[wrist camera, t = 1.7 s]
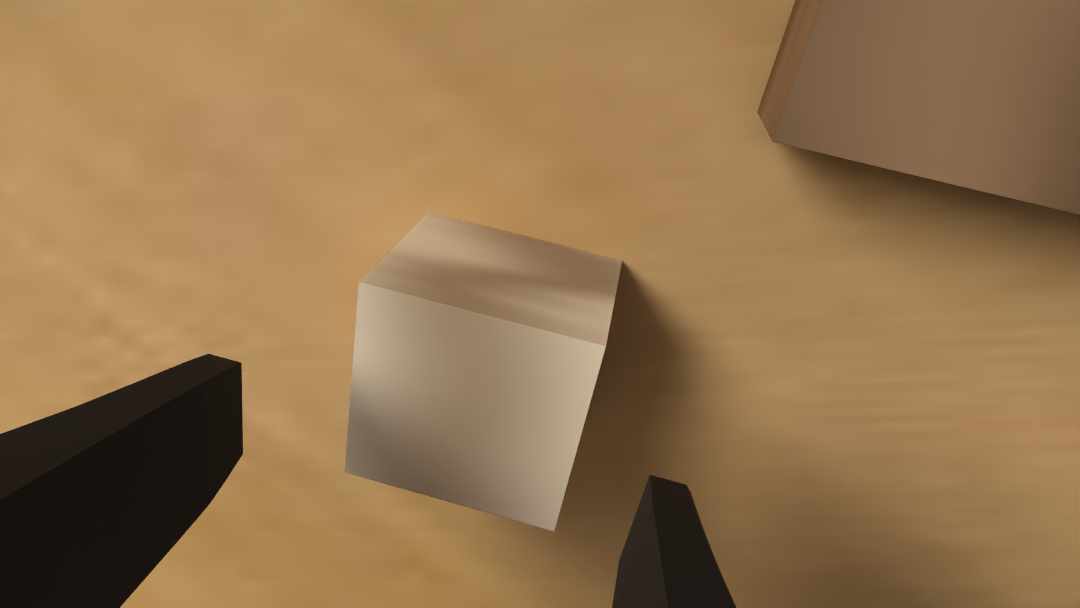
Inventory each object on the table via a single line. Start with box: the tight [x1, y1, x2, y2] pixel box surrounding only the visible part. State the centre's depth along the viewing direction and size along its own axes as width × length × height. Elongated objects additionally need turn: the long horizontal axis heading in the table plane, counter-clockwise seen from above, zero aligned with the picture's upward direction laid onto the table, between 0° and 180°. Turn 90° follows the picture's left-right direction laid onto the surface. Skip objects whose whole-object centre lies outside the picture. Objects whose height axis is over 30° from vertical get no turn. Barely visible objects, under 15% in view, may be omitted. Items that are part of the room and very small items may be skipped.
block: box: [345, 212, 622, 531], centre depth 15 cm, size 4×4×4 cm
